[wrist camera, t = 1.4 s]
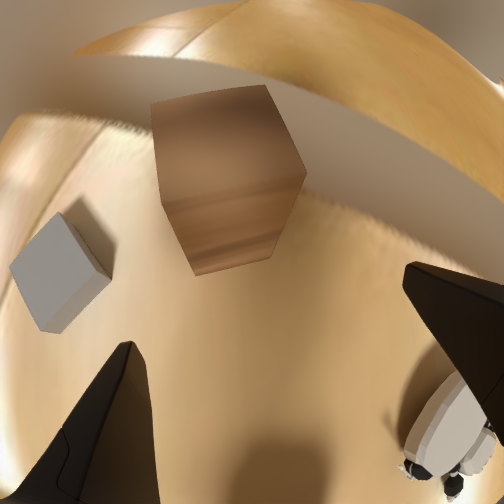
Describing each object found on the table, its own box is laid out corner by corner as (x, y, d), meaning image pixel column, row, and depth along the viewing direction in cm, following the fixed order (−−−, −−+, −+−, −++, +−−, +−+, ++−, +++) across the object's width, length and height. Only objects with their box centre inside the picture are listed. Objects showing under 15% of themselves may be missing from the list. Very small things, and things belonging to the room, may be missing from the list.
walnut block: (269, 258, 23) (307, 172, 11) (195, 276, 22) (161, 202, 10) (249, 193, 24) (264, 84, 13) (181, 209, 24) (150, 104, 12)
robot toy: (493, 415, 19) (449, 344, 21) (519, 419, 15) (482, 343, 17) (433, 499, 16) (370, 450, 18) (457, 512, 12) (399, 468, 14)
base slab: (59, 334, 19) (40, 331, 16) (27, 275, 20) (8, 266, 18) (111, 280, 21) (96, 271, 18) (73, 225, 22) (58, 211, 19)
